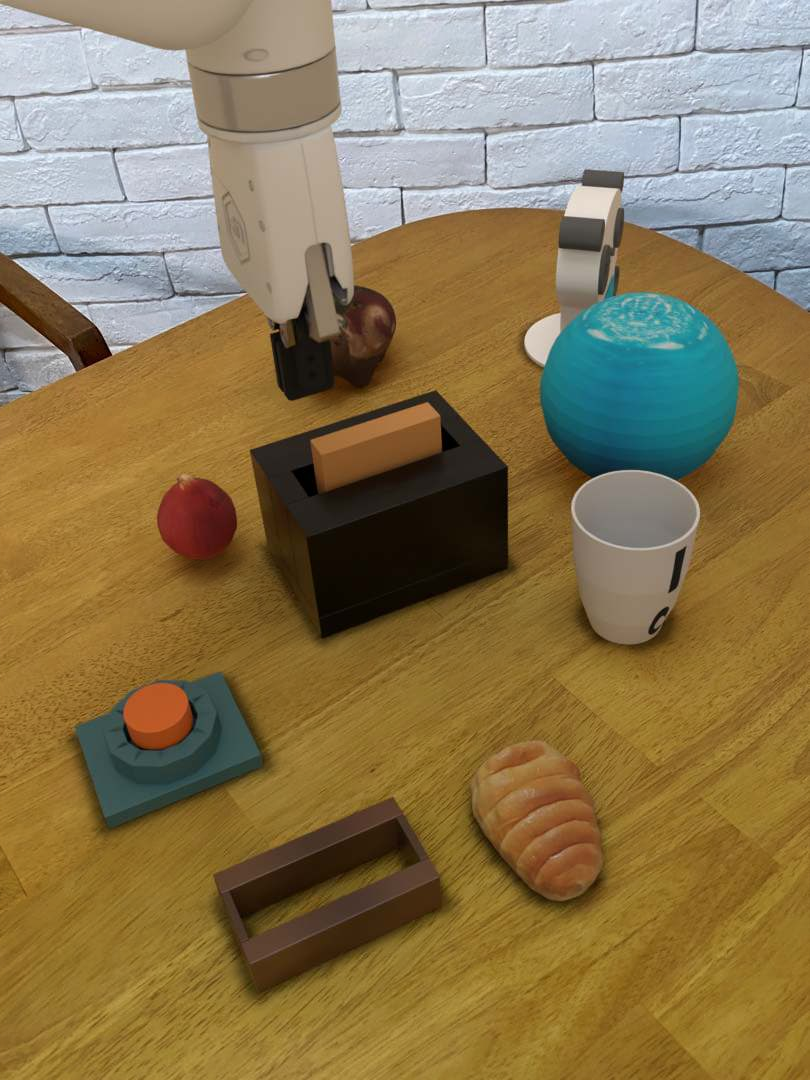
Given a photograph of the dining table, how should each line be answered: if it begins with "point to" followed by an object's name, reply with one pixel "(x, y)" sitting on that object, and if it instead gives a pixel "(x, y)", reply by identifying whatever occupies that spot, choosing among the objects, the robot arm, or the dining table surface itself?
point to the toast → (376, 446)
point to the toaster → (384, 522)
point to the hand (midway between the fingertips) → (306, 388)
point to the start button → (158, 716)
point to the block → (168, 753)
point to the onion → (196, 518)
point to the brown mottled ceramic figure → (362, 335)
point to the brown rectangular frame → (337, 920)
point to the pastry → (539, 818)
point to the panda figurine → (583, 256)
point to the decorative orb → (639, 387)
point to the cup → (632, 550)
